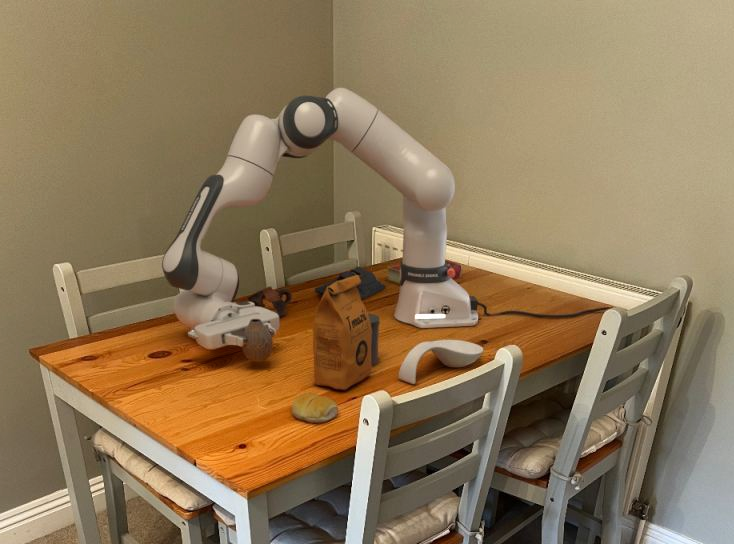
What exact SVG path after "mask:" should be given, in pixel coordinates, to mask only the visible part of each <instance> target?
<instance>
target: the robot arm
mask: <svg viewBox="0 0 734 544" xmlns="http://www.w3.org/2000/svg"><path fill="white" fill-rule="evenodd" d="M327 140H332V141H335V142H336V143H338V144H341V145H342V146H343V147H344V148H345V149H346V150H347V151H349V152H350V153H351V154H352V155H354V156H355V157H356V158H358V159H359V161H362V162H363V163H364V164H365V165H366V166H367V167H369V168H370V169H371V170H373V171H374V172H375V173H377V174H378V175H379V176H380V177H381V178H383V179H384V180H385V181H386V182H387V183H388V184H390V186H392V187H393V188H394V189H396V190H397V191H398V192H399V193H400V194H402V223H403V225H402V226H403V233H402V234H403V235H402V239H403V240H402V255H401V256H402V257H401V258H402V259H401V260H402V261H400V264H401V265H400V276H399V282H400V285H399V294H398V298H397V303H396V307H395V310H394V313H393V318H395V320H397V321H400V322H401V323H405V324H409V325H413V326H414V327H416V328H419V329H434V328H435V329H436V328H455V327H456V328H457V327H473V326H475V325H477V324H478V322H479V314H478V312H477V311H478V306H480V307H481V308H483V314H484V315H485V316H487V317H492V316H493V317H494V316H502V315H503V316H504V315H507V314H516V315H517V314H518V315H524V316H532V317H536V318H571V317H575V316H579V315H583V314H587V313H595V312H601V311H608V310H607V309H609V308H613V307H612V306H605V307H604V306H603V307H599V308H592V309H585V310H581V311H578V312H574V313H567V314H545V313H544V314H543V313H533V312H528V311H521V310H505V311H501V312H498V313H493V314H491V313H489V312H488V309H487V306H486V305H485V304H484V303H483V302H479V300H478V299H477V297H476V296H475V295H469V293H468V292H467V291H466V289H465V288H463V287H462V286H461V285H460V284H459V283H457V281H455V279H452V278H453V277H454V276H455V271H454V269H452V267H451V266H450V265H449V264H447V263H445V260H446V254H447V253H446V252H447V241H448V228H447V207H448V206H449V204H450V203H451V202H452V201H453V198H454V196H455V193H456V192H455V190H456V179H455V176H454V174H453V171H452V170H451V168H450V167H448V166H447V165H446V164H445V163H444V162H443V161H442V160H441V159H439V158H438V157H437V156H435V155H434V154H433V153H432V152H431V151H429V150H428V149H427V148H426V147H424V146H423V145H422V144H421V143H420V142H418V141H417V140H416V139H415V138H414V137H413V136H411V135H410V134H409V133H407V132H406V131H405V130H404V129H403V128H401V127H400V126H399V125H398V124H397V123H395V121H393V120H392V119H391V118H389V117H388V116H387V115H386V114H385V113H383V112H382V111H381V110H380V109H378V108H377V107H376V106H375V105H373V103H371V102H369V101H368V100H367V99H365V98H363V97H362V96H360V95H359V94H357V93H356V92H354V91H352V90H349V89H348V88H345V87H337V88H334V89H333V90H331V91H330V92H328V94H327V95H326V96H325V97H320V96H313V95H307V94H306V95H299V96H296V97H295V98H293V99H291V100H290V101H289V102H288V103H287V105H285V106H284V107H283V108H282V110H281V112H280V113H279V114H278V116H277V117H275V118H270V117H268V116H265V115H262V114H249V115H247V116H246V117H244V118H243V120H242V122H241V123H240V125H239V127H238V129H237V131H236V133H235V135H234V137H233V140H232V142H231V144H230V147H229V150H228V153H227V156H226V159H225V161H224V164H223V165H222V167H221V168H220V169H219V171H218V172H217V173H216V174H212V175H209V176H208V177H207V178H206V179H205V181H204V182H203V184H202V185H201V187H200V188H199V190H198V192H197V194H196V196H195V198H194V200H193V202H192V203H191V205H190V207H189V210H188V212H187V213H186V216H185V218H184V220H183V222H182V224H181V226H180V228H179V231H178V233H177V235H176V236H175V238H174V239H173V241H172V242H171V244H170V245H169V246H168V248H167V249H166V250H165V252H164V255H163V256H162V260H161V267H162V272H163V275H164V277H165V280H166V281H167V283H168V284H169V285H170V286H171V287H173V288H176V289H180V290H183V291H180V292H179V293H177V295H175V297H174V300H173V304H172V306H173V312H174V315H175V317H176V319H177V320H178V321H179V322H180V323H181V324H183V325H184V326H185V327H187V328H188V329H190V330H189V331H188V332H187V336H188V337H189V338H191V339H195V342H196V343H197V344H198V345H199V346H201V347H202V348H204V349H206V350H216V349H219V348H223V347H226V346H238V347H241V348H242V346H245V345H247V342H246V341H247V339H246V337H243V336H242V334H243V332H244V330H245V329H246V327H247V326H248V325H249V322H250V320H251V319H260V320H261V321H262V323H263V325H264V326H265V327H266V328H267V329H268V330H269V332H270V334H271V336H272V338H275V337H277V331H279V330H280V328H281V327H280V326H281V324H280V323H281V322H280V317H279V316H278V314H277V313H275V312H273V311H272V310H270V309H268V308H265V307H264V308H262V307H258V306H255V304H254V303H253V302H249V301H240V302H239V301H238V302H234V301H235V299H236V297H237V296H238V291H239V288H240V277H239V276H240V274H239V271H238V269H237V266H236V265H235V264H234V263H233V262H231V261H229V260H226V259H224V258H222V257H220V256H218V255H214V254H212V253H210V252H208V251H205V250H203V249H202V248H201V246H202V243H203V241H204V238H205V236H206V235H207V232H208V231H209V229H210V227H211V224H212V222H213V221H214V218H215V217H216V215H217V214H218V213H219V212H221V211H222V210H224V209H226V208H250V207H254V206H257V205H258V204H259V203H261V202H263V200H264V199H265V198H266V197H267V195H268V193H269V191H270V188H271V186H272V182H273V179H274V175H275V172H276V169H277V166H278V164H279V162H280V160H281V158H282V157H284V158H289V159H290V158H292V159H303V158H306V157H309V156H310V155H312V154H313V153H316V151H318V150H319V149H320V147H321V146H322V145H323V143H325V142H326V141H327Z"/></svg>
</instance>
